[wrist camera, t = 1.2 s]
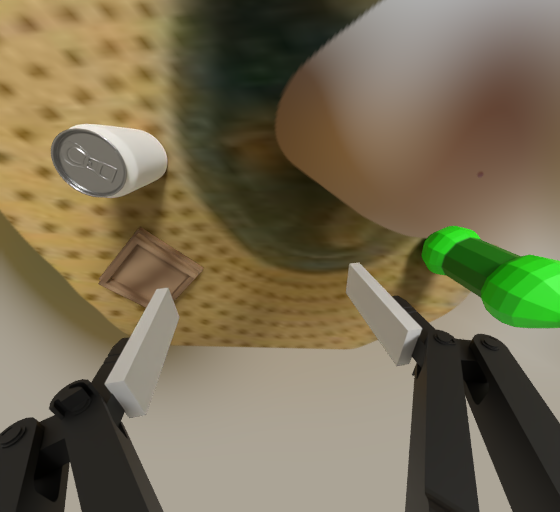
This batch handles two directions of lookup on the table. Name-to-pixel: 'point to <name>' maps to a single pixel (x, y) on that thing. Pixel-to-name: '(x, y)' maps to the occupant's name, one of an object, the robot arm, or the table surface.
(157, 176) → the can
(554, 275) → the plastic bottle
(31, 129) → the table surface
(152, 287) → the tray
